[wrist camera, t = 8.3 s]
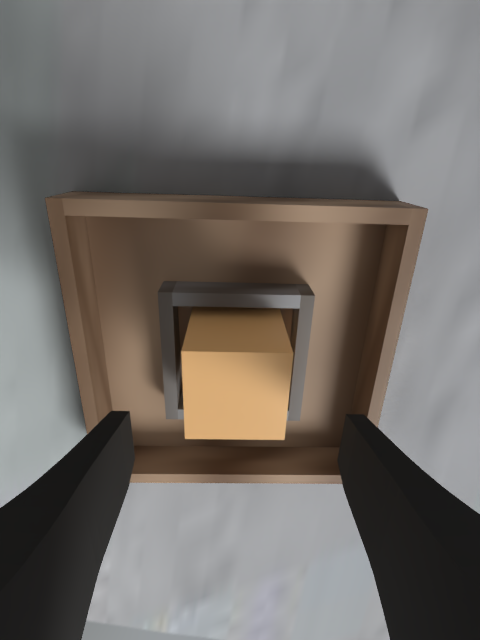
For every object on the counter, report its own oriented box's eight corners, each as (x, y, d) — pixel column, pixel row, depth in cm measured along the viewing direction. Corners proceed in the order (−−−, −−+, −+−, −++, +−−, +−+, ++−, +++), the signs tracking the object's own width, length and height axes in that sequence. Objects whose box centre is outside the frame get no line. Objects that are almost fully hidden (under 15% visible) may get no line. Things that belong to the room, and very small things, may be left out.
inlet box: (400, 200, 16) (428, 208, 14) (350, 449, 22) (364, 483, 19) (72, 191, 15) (45, 197, 13) (110, 447, 21) (95, 482, 19)
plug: (278, 305, 17) (293, 352, 13) (273, 378, 19) (284, 440, 15) (193, 304, 17) (181, 351, 13) (195, 376, 19) (184, 438, 15)
